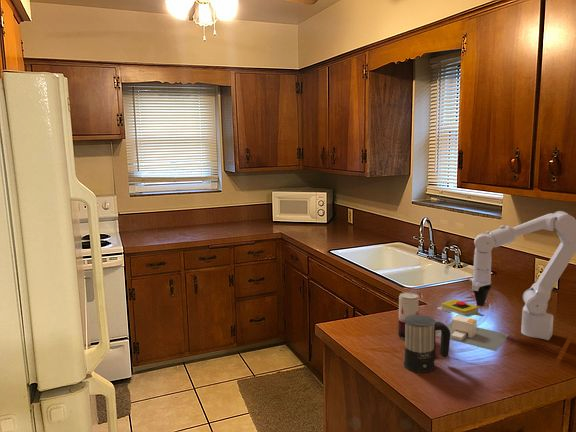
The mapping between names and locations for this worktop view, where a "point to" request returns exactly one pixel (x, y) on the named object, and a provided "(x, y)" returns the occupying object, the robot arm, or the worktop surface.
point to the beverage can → (406, 309)
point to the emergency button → (459, 308)
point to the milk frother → (423, 342)
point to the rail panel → (478, 338)
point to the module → (464, 325)
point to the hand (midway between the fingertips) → (480, 305)
